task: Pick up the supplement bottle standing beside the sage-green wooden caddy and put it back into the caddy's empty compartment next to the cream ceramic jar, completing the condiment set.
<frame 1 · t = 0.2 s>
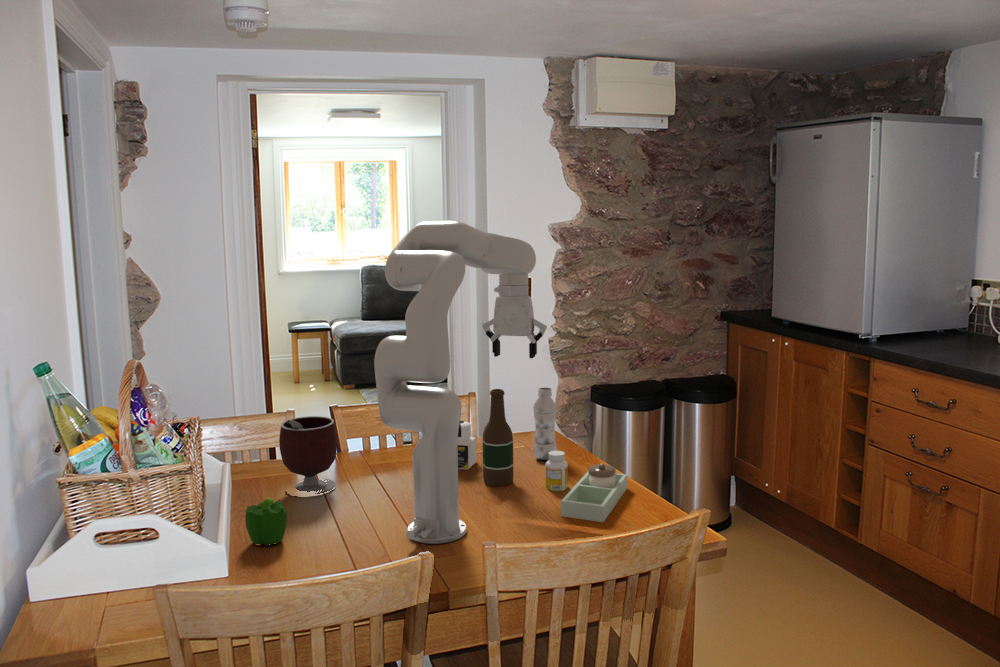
hand: (514, 356, 198), 31 cm above the table, tool pointing down, fingers open, 9 cm apart
mate gourd: (309, 490, 189), on the table
bell pepper: (267, 543, 158), on the table
supplement bottle: (556, 491, 186), on the table
plastic bottle: (545, 459, 211), on the table
beer bottle: (498, 482, 193), on the table
jar: (601, 493, 181), point 1 cm above the table, touching caddy
medicine bottle: (460, 465, 207), on the table
caddy: (595, 505, 176), on the table
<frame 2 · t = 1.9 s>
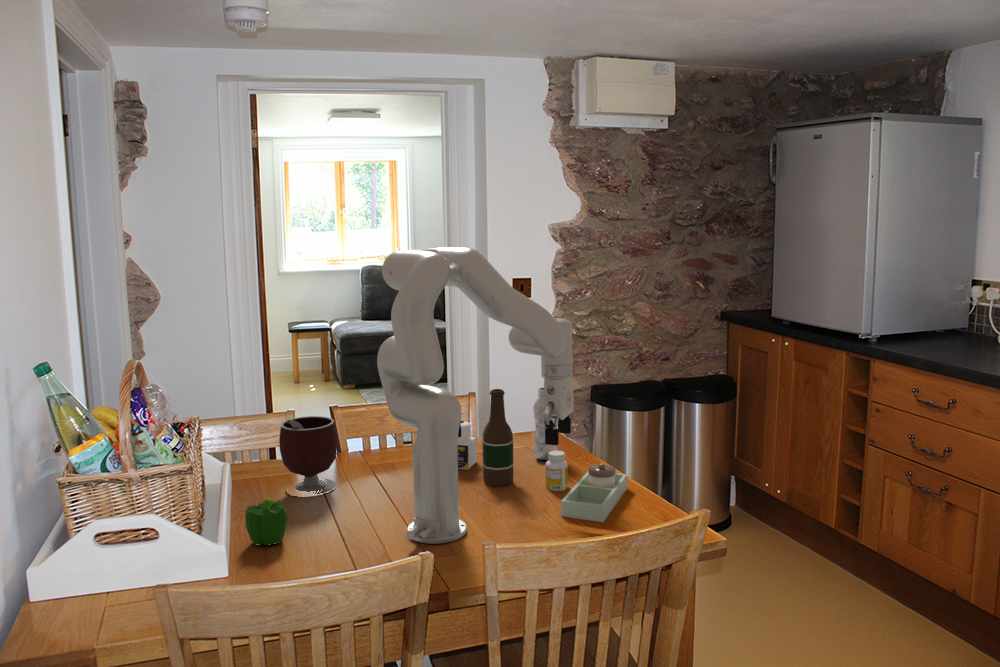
hand: (558, 438, 184), 13 cm above the table, tool pointing down, fingers open, 9 cm apart
nothing on the table moved.
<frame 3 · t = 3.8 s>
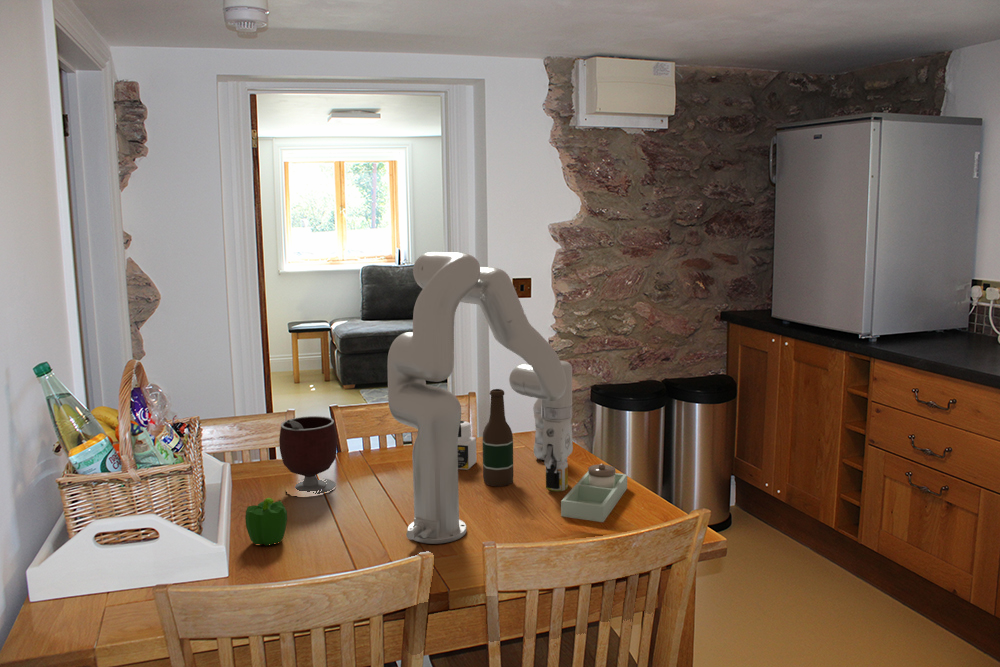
hand: (556, 483, 185), 2 cm above the table, tool pointing down, fingers closed on supplement bottle, 5 cm apart
supplement bottle: (556, 491, 186), on the table, touching gripper
everything else where it was.
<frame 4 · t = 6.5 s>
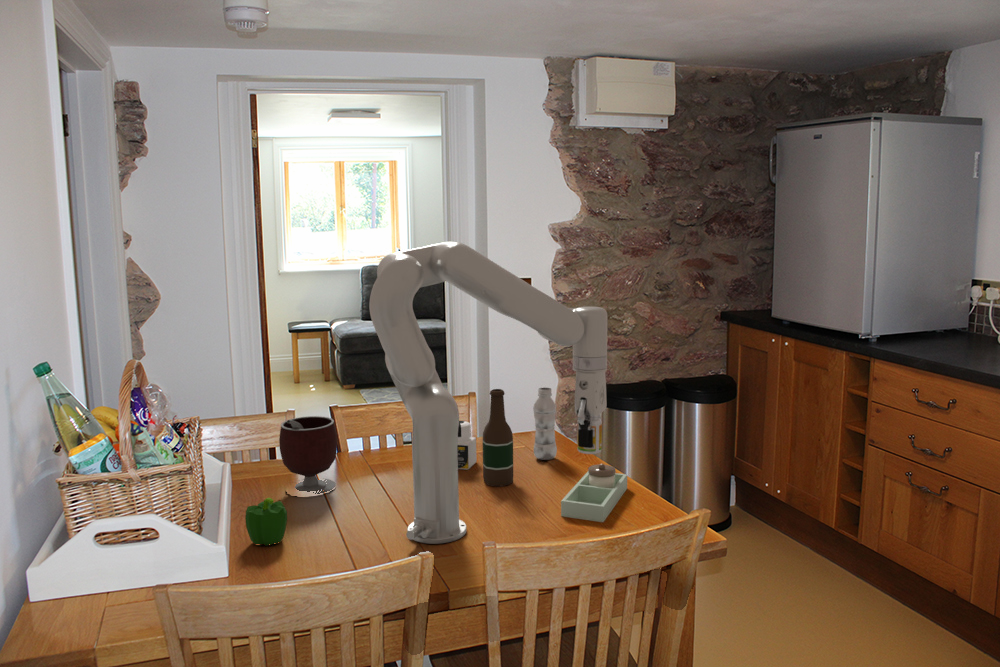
hand: (589, 442, 168), 17 cm above the table, tool pointing down, fingers closed on supplement bottle, 5 cm apart
supplement bottle: (589, 451, 169), point 15 cm above the table, touching gripper
everything else where it was.
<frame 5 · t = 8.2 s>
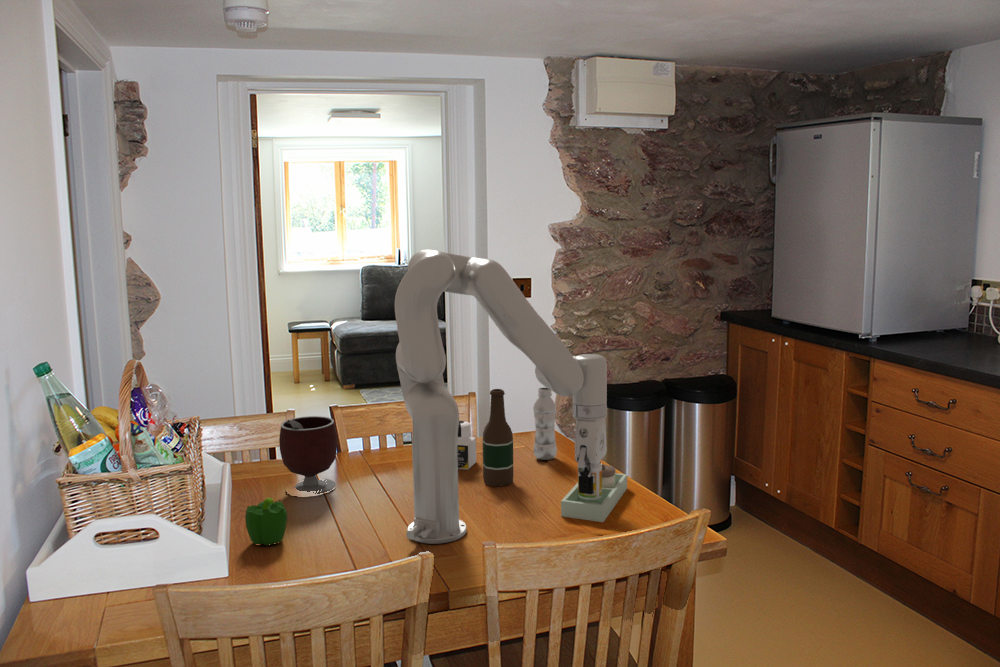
hand: (589, 487, 170), 6 cm above the table, tool pointing down, fingers closed on supplement bottle, 5 cm apart
supplement bottle: (590, 497, 170), point 4 cm above the table, touching gripper
everything else where it was.
when the fingers open (4 cm above the table, at t = 9.5 s): supplement bottle drops 1 cm, resting on caddy.
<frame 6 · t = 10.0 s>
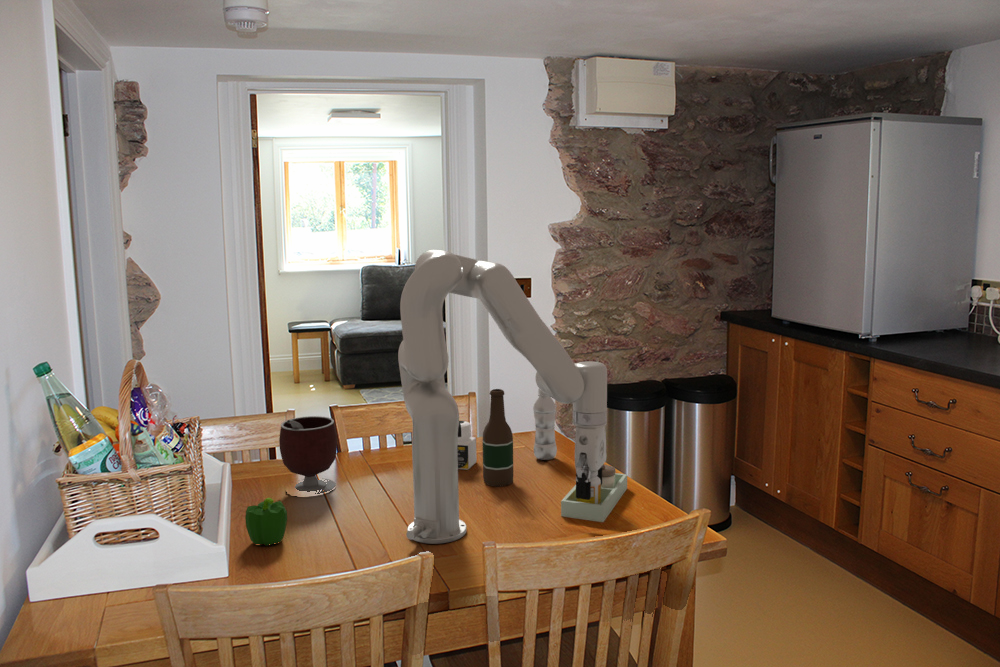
hand: (589, 491, 170), 5 cm above the table, tool pointing down, fingers open, 9 cm apart
supplement bottle: (588, 510, 171), point 1 cm above the table, touching caddy
everything else where it was.
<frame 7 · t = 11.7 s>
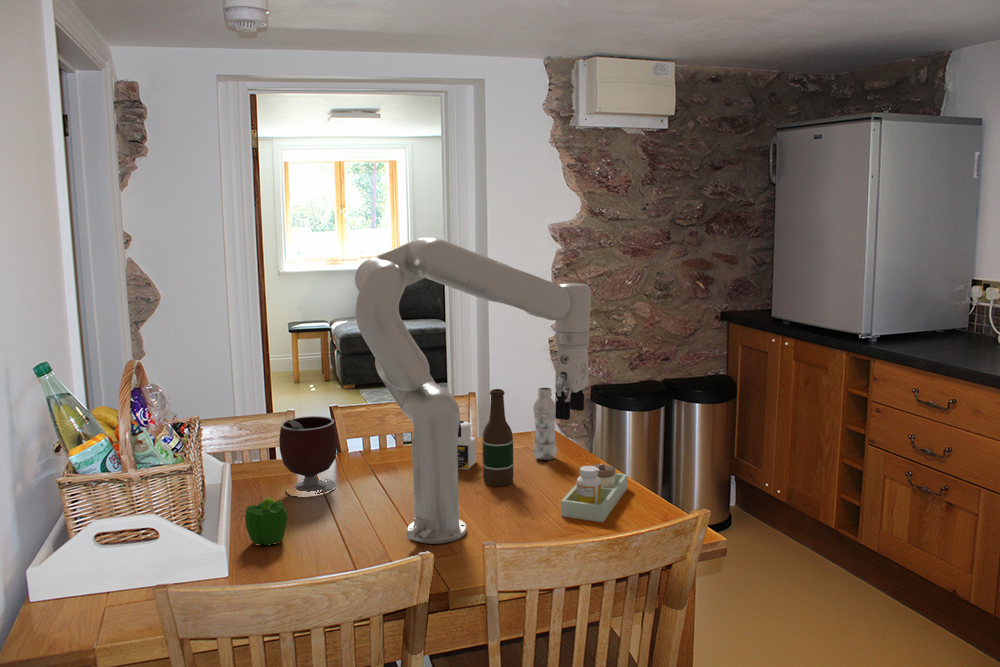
hand: (569, 414, 170), 23 cm above the table, tool pointing down, fingers open, 9 cm apart
nothing on the table moved.
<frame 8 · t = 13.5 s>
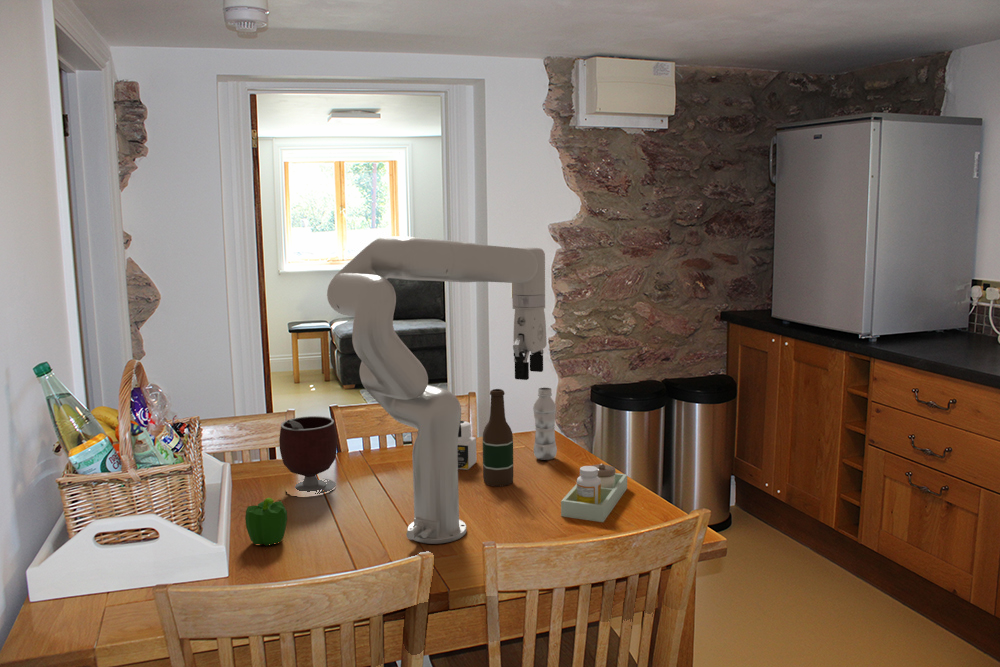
hand: (529, 375, 175), 30 cm above the table, tool pointing down, fingers open, 9 cm apart
nothing on the table moved.
at the end: supplement bottle inside the target area on the caddy (0.1 cm from its centre), point 0.8 cm above the caddy's base; supplement bottle tilted 0°; the gripper is holding nothing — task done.
